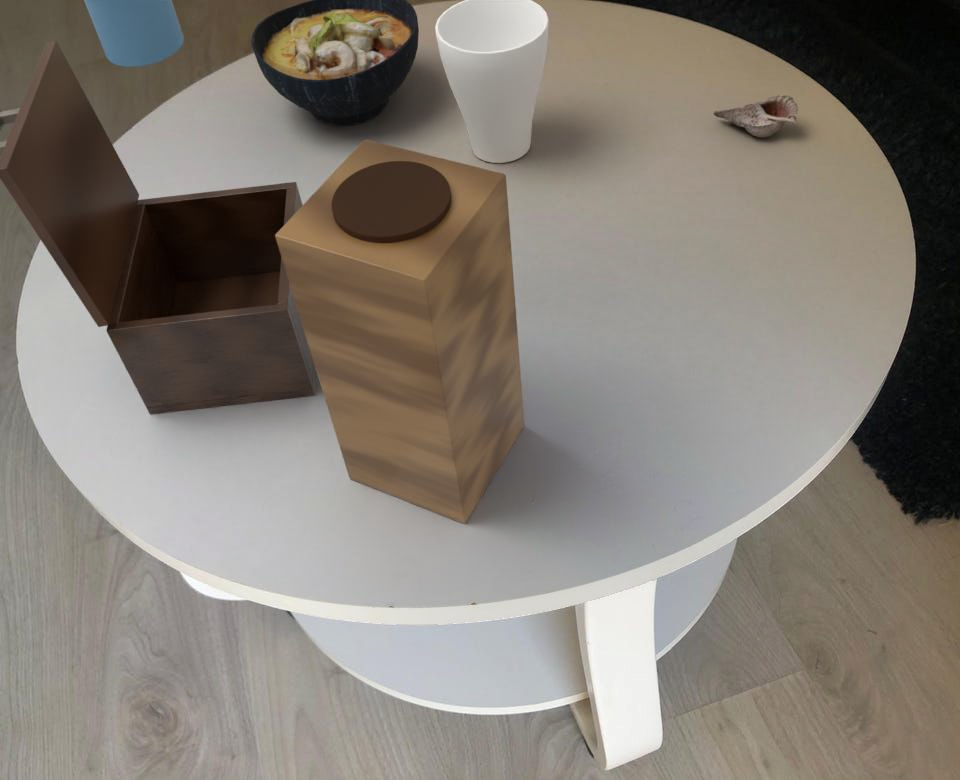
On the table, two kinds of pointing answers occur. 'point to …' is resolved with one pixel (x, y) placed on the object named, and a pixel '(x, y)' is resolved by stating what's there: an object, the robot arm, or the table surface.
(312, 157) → the table surface
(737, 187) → the table surface
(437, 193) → the coaster
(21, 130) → the wooden box lid
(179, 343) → the brown wooden box
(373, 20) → the bowl
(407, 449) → the stand
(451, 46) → the cup
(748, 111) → the seashell
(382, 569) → the table surface
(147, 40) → the bottle
